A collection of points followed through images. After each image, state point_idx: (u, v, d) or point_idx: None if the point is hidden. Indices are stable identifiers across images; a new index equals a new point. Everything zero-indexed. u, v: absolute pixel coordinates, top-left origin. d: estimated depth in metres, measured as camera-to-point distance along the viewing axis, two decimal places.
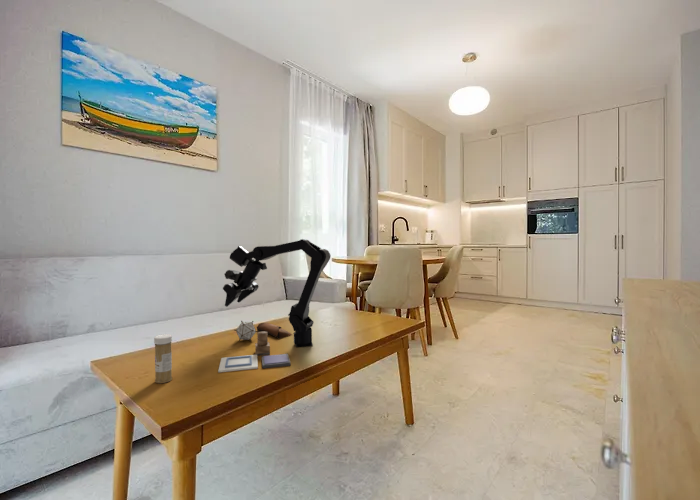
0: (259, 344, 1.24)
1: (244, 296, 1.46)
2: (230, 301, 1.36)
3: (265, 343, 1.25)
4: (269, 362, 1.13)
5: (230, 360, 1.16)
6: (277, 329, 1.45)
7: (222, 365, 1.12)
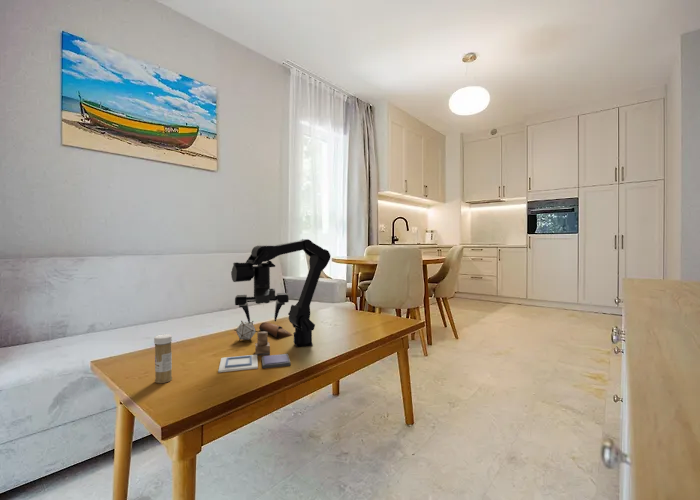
0: (259, 344, 1.24)
1: None
2: None
3: (265, 343, 1.25)
4: (269, 362, 1.13)
5: (230, 360, 1.16)
6: (277, 329, 1.45)
7: (222, 365, 1.12)
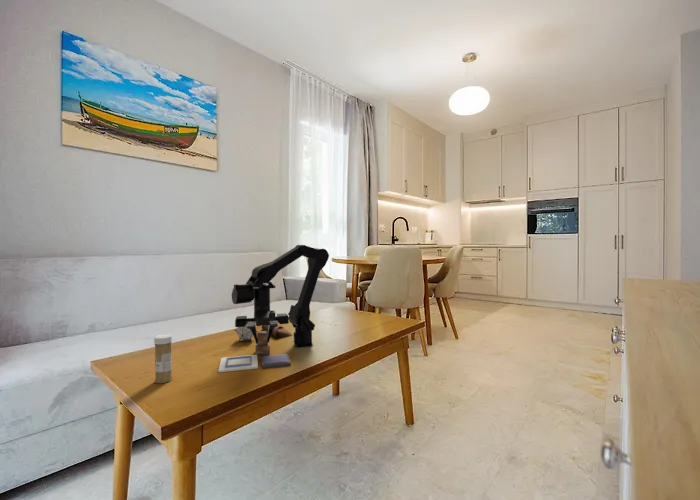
0: (259, 344, 1.24)
1: None
2: None
3: (265, 343, 1.25)
4: (269, 362, 1.13)
5: (230, 360, 1.16)
6: (276, 329, 1.45)
7: (222, 365, 1.12)
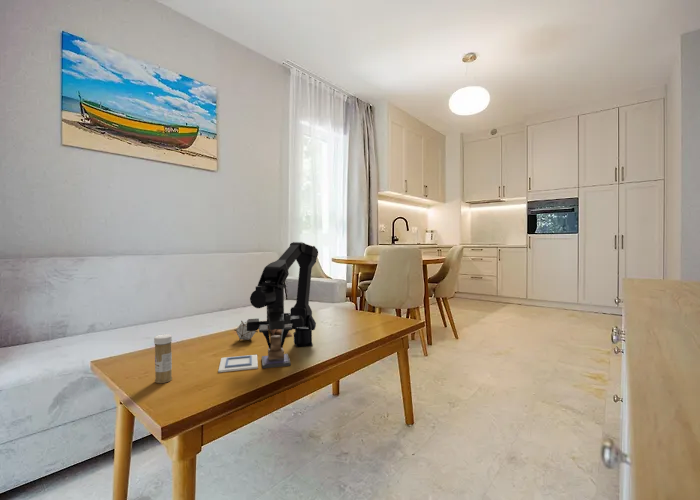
0: (272, 349, 1.15)
1: None
2: None
3: (279, 348, 1.15)
4: (269, 362, 1.13)
5: (230, 360, 1.16)
6: (275, 329, 1.46)
7: (222, 365, 1.12)
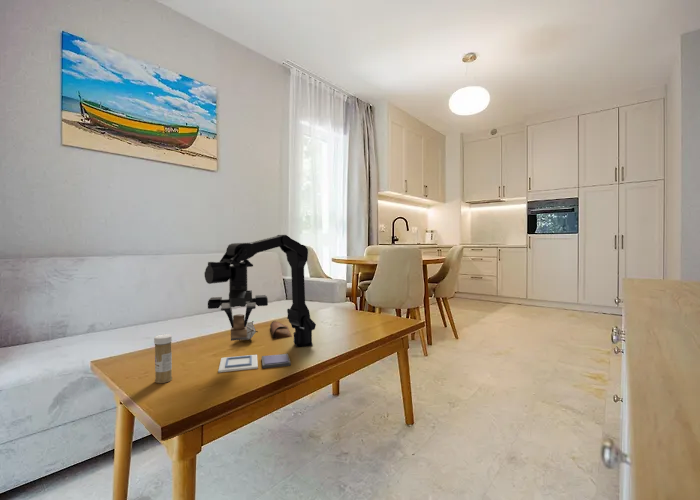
0: (235, 328, 1.13)
1: (232, 315, 1.15)
2: None
3: (242, 327, 1.13)
4: (269, 362, 1.13)
5: (230, 360, 1.16)
6: (275, 329, 1.46)
7: (222, 365, 1.12)
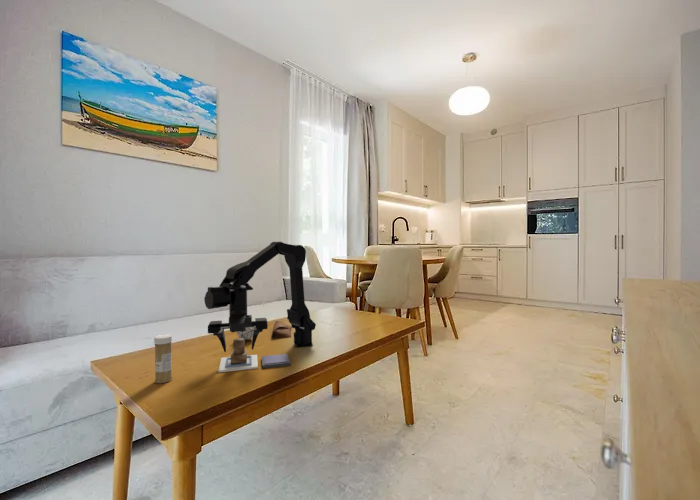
0: (235, 352, 1.13)
1: None
2: None
3: (242, 351, 1.14)
4: (269, 362, 1.13)
5: (230, 360, 1.16)
6: (275, 329, 1.46)
7: (222, 365, 1.12)
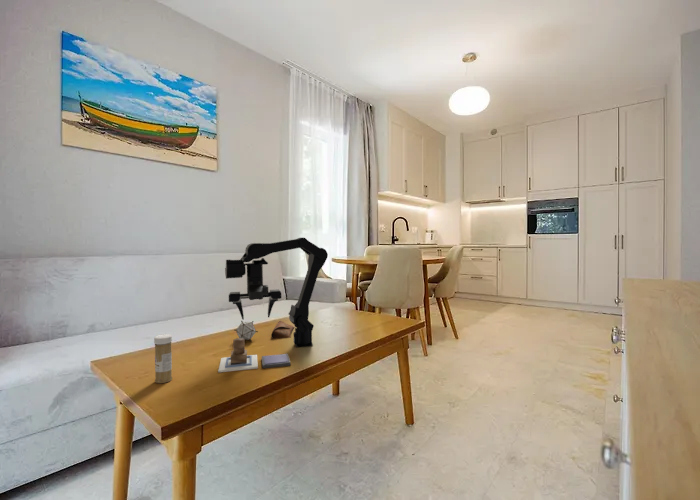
0: (235, 352, 1.13)
1: (242, 308, 1.27)
2: None
3: (242, 351, 1.14)
4: (269, 362, 1.13)
5: (230, 360, 1.16)
6: (274, 329, 1.46)
7: (222, 365, 1.12)
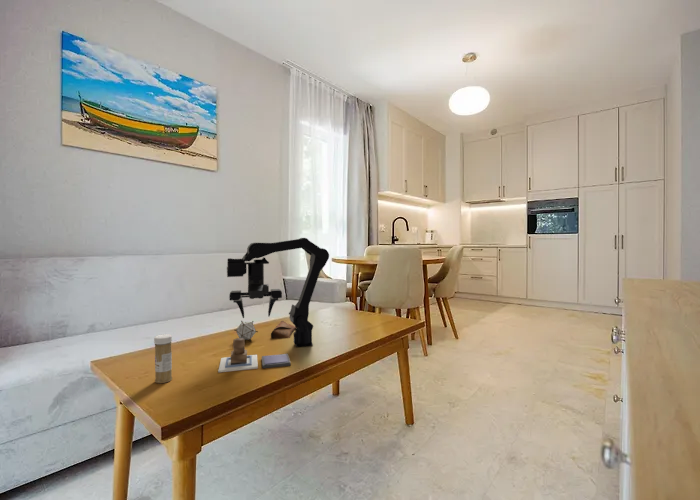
0: (235, 352, 1.13)
1: None
2: None
3: (242, 351, 1.14)
4: (269, 362, 1.13)
5: (230, 360, 1.16)
6: (274, 329, 1.46)
7: (222, 365, 1.12)
